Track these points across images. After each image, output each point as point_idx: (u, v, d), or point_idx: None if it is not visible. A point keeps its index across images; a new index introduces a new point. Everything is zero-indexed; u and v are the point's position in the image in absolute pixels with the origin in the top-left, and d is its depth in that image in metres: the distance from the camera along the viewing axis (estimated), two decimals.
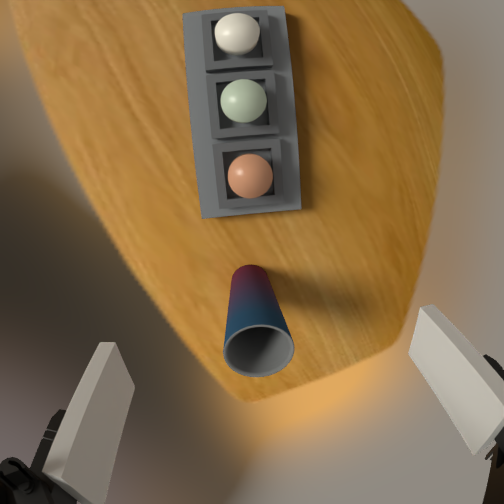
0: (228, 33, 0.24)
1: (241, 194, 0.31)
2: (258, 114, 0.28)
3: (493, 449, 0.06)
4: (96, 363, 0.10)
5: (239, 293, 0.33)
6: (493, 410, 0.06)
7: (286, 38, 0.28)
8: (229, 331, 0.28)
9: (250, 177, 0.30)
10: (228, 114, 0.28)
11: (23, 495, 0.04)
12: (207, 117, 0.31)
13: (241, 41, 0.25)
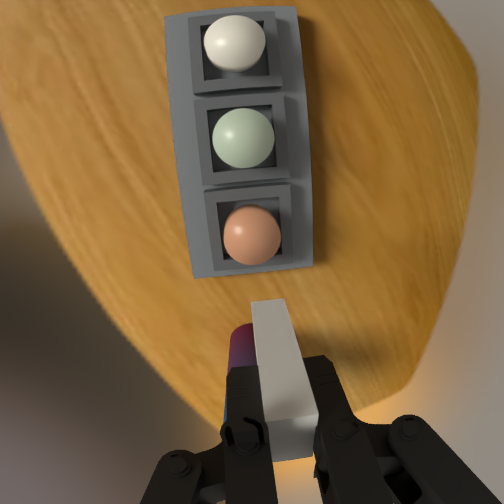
0: (222, 43, 0.18)
1: (241, 260, 0.25)
2: (263, 157, 0.22)
3: (315, 469, 0.08)
4: (260, 318, 0.12)
5: None
6: None
7: (299, 49, 0.22)
8: None
9: (252, 240, 0.24)
10: (223, 157, 0.22)
11: (239, 455, 0.06)
12: (197, 155, 0.25)
13: (240, 54, 0.19)
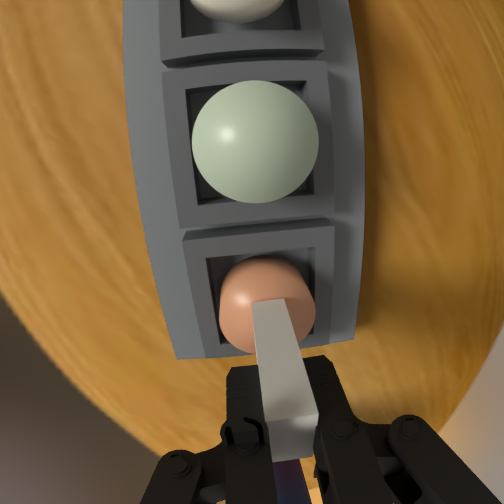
0: None
1: (248, 349, 0.15)
2: (296, 182, 0.11)
3: (315, 469, 0.08)
4: (260, 318, 0.12)
5: None
6: None
7: None
8: None
9: None
10: (214, 182, 0.11)
11: (239, 455, 0.06)
12: (170, 171, 0.14)
13: None
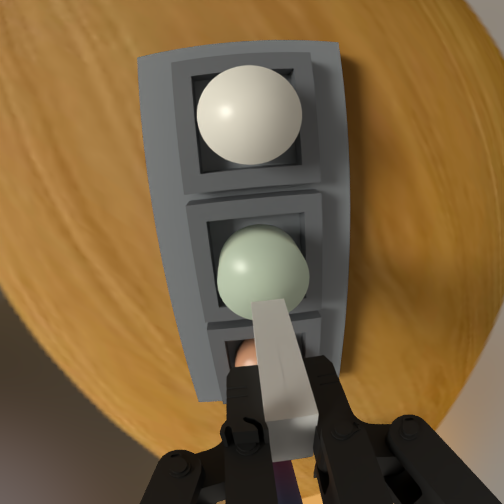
0: (229, 120, 0.12)
1: None
2: (291, 306, 0.15)
3: (315, 469, 0.08)
4: (260, 318, 0.12)
5: None
6: None
7: (343, 114, 0.16)
8: None
9: None
10: (234, 308, 0.15)
11: (239, 455, 0.06)
12: (195, 275, 0.19)
13: (259, 142, 0.12)
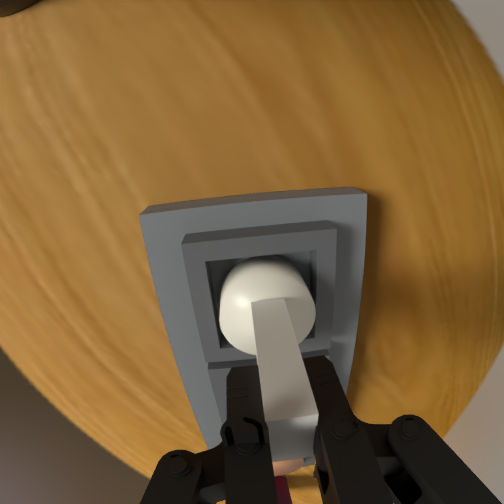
0: (249, 326, 0.14)
1: None
2: None
3: (315, 469, 0.08)
4: (261, 318, 0.12)
5: None
6: None
7: (360, 274, 0.17)
8: None
9: (276, 466, 0.20)
10: None
11: (239, 455, 0.06)
12: (215, 400, 0.20)
13: None
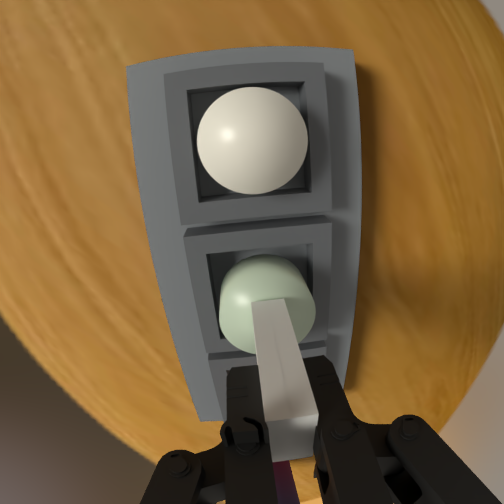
0: (231, 148, 0.12)
1: None
2: None
3: (315, 469, 0.08)
4: (261, 318, 0.12)
5: None
6: None
7: (357, 131, 0.14)
8: None
9: None
10: (236, 343, 0.14)
11: (239, 455, 0.06)
12: (195, 305, 0.18)
13: (263, 171, 0.12)
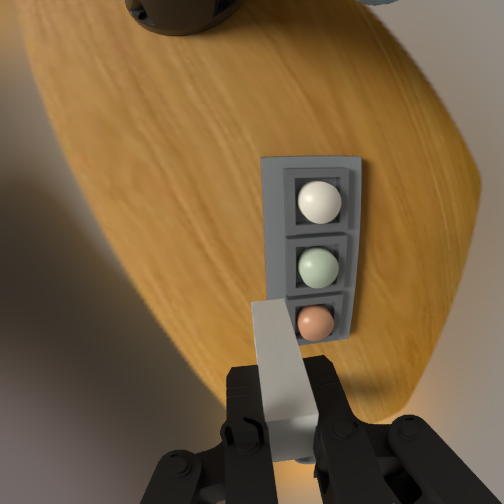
0: (313, 206, 0.32)
1: (308, 338, 0.38)
2: (330, 282, 0.35)
3: (315, 469, 0.08)
4: (260, 318, 0.12)
5: None
6: None
7: (359, 195, 0.35)
8: None
9: (317, 327, 0.37)
10: (306, 282, 0.35)
11: (239, 455, 0.06)
12: (282, 272, 0.37)
13: (324, 215, 0.32)
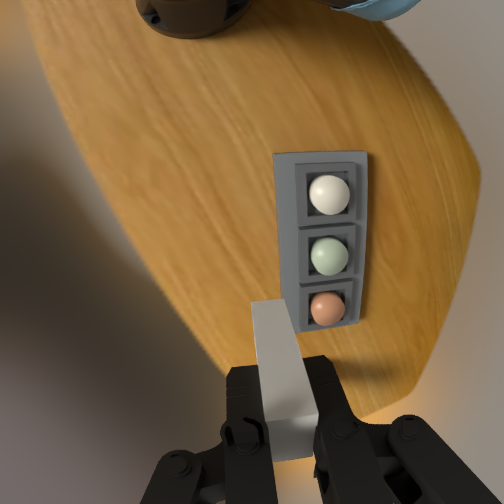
0: (324, 198, 0.34)
1: (321, 323, 0.40)
2: (341, 269, 0.37)
3: (315, 469, 0.08)
4: (260, 318, 0.12)
5: None
6: None
7: (366, 187, 0.36)
8: None
9: (329, 312, 0.40)
10: (318, 270, 0.37)
11: (239, 455, 0.06)
12: (296, 261, 0.40)
13: (334, 206, 0.34)
